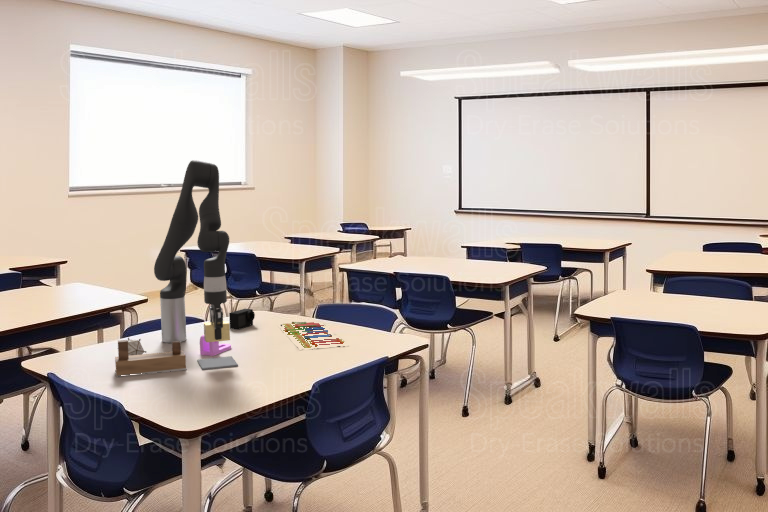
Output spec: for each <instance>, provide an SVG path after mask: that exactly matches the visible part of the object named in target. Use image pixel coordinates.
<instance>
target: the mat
mask: <svg viewBox="0 0 768 512" xmlns="http://www.w3.org/2000/svg"><path fill="white" fill-rule="evenodd" d="M196 362H197V363H198V366H199V367H200V369H201V371H206V370H207V371H208V370H216V369H217V370H218V369H226V368H234V367H235V368H237V367H239V364H238V363H237V361H236V360H235V359H234V357H233V356H232V355H231V356H229V355H228V356H221V357H220V356H219V357H211V358H210V357H209V358H202V359H200V358H199V359H196Z"/></svg>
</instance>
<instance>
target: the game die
mask: <svg viewBox="0 0 768 512" xmlns="http://www.w3.org/2000/svg"><path fill="white" fill-rule="evenodd" d="M127 340H128V356H130V355H141V354H147V351H146V350H144V348H143V345H142V344H141V341H142V339H141V338H139V339H137V340H136V339H130V338H129V337H128V338H127Z"/></svg>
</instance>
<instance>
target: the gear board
mask: <svg viewBox="0 0 768 512" xmlns="http://www.w3.org/2000/svg"><path fill="white" fill-rule="evenodd" d="M314 322H315V321H313V322H306V321H295V322H294V321H292V322H291V323H288V322H287V323H283V324H282V325H285V326H284V327H285V328H284V329H285V330H283V331H285V332H288V331H290V332H288V334H287V335H294V336H293V337H296V338H295V339H298V340H297V341H300V342H299V343H301V345H302V346H303V345H304V346H303V347H304V348H311V347H312V346H310V344H312V345H315V347H317V346H318V345H317V344H315V343H326V342H340V343H331V344H343V343H344V342H345V340H343V339H342V338H341V339H339V338H336V339H324V340H331V341H323V340H311V339H310V338H318V337H332V335H331V334H328V330H324V329H325V328H323V327H321V326H324V325H325V324H324V325H320V324H319V323H314ZM291 324H295V325H293V326H295V327H293V326H292V325H291ZM300 327H303V329H302V328H300ZM305 327H306V328H305ZM307 327H309V328H307ZM295 328H298V329H295ZM312 328H313V329H312ZM304 329H305V331H302V332H307V333H306V334H302V335H300V334H301V333H299V331H296V330H304ZM313 330H323V331H313ZM283 331H282V332H283ZM313 332H315V333H313ZM290 333H292V334H290ZM319 333H324V334H327V335H313V336H305V335H308V334H319ZM302 336H304V338H305V339H307V340H311V341H309V342H310V344H309V343H308V341H307V340H306V341H307V342H306V341H305V339H304V338H303V337H302ZM342 340H343V341H342ZM314 341H319V342H314ZM311 342H312V343H311ZM302 343H303V344H302ZM319 345H330V344H319Z"/></svg>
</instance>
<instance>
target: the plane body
mask: <svg viewBox="0 0 768 512" xmlns="http://www.w3.org/2000/svg"><path fill="white" fill-rule="evenodd" d="M181 344H182V343H181V342H180V341H173V342H172V343H171V350H172V351H163V352H154V353H152V352H151V353H143V354H141V355H130V356H128V339H120V340H117V353H118V356H114V357H115V358H114V361H115V369H114V371H115V372H116V373H115V377H116V376H121V375H130V374H141V373H142V374H143V375H145V374H144V373H152V374H158V373H157V372H162V373H169V372H170V371H171V372H178V371H187V369H188V367H187V363H186V362H187V361H186V360H187V359H186V357H187V356H186V354H185V352H184V350H182V349H181V346H182V345H181Z"/></svg>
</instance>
